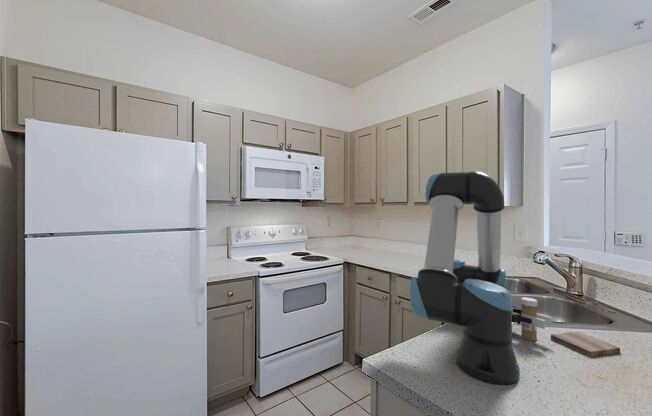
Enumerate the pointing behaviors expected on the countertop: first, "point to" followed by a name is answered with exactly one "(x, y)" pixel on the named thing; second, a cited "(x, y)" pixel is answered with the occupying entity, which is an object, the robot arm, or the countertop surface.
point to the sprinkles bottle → (530, 310)
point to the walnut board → (585, 344)
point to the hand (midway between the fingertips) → (547, 323)
